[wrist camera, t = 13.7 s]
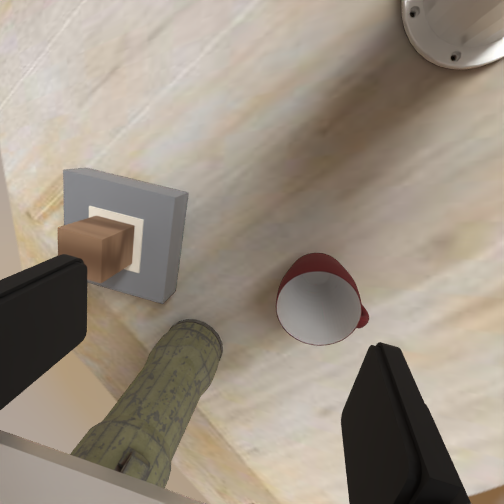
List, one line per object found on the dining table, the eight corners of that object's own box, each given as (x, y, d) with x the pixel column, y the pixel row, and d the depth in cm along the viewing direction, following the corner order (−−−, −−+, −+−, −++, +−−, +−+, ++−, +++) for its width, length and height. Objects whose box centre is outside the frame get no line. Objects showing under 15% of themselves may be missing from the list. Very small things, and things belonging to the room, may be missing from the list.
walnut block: (96, 215, 37) (57, 227, 31) (134, 225, 36) (102, 239, 31) (95, 253, 38) (58, 271, 33) (132, 263, 38) (100, 283, 32)
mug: (381, 267, 37) (405, 307, 27) (346, 318, 39) (357, 370, 30) (302, 228, 37) (298, 255, 28) (273, 282, 40) (261, 322, 30)
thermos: (240, 335, 43) (21, 901, 11) (200, 385, 48) (-43, 897, 15) (188, 299, 43) (-197, 770, 10) (153, 353, 47) (-199, 804, 15)
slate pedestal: (86, 167, 40) (62, 169, 36) (188, 192, 38) (174, 197, 34) (85, 265, 44) (63, 276, 40) (175, 290, 43) (162, 304, 39)
